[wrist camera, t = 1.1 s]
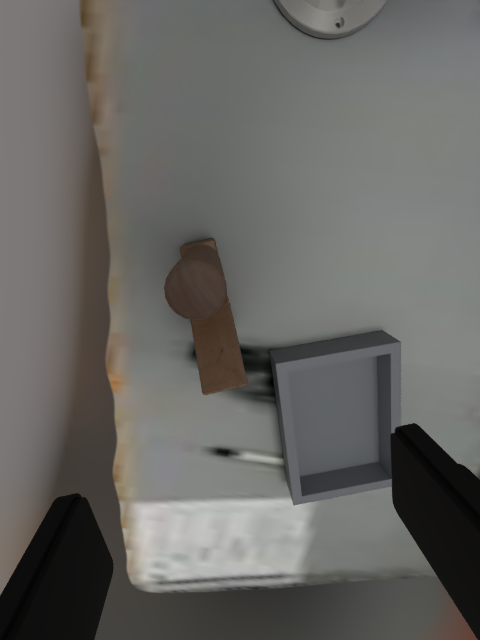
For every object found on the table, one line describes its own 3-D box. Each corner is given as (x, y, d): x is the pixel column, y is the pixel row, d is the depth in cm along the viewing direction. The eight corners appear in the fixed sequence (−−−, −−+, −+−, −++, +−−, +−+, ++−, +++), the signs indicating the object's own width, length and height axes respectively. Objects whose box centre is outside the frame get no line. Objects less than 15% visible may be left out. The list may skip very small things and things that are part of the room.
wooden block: (205, 335, 38) (201, 427, 21) (181, 244, 35) (152, 265, 17) (235, 328, 38) (256, 414, 21) (214, 237, 35) (218, 250, 17)
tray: (269, 350, 39) (275, 363, 35) (382, 330, 40) (400, 341, 36) (286, 481, 45) (293, 505, 41) (384, 462, 46) (400, 484, 42)
